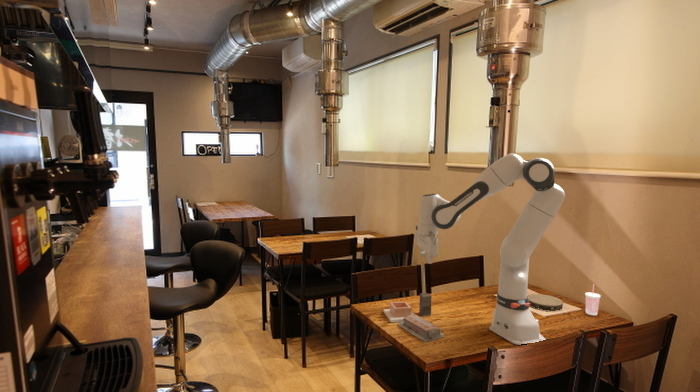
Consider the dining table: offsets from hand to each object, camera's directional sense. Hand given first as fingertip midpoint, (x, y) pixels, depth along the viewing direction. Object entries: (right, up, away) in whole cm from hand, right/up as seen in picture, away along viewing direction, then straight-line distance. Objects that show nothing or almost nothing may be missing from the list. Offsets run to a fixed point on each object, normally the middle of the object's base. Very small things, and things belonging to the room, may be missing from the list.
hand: (426, 260), depth 184 cm
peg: (0, -25, +2) cm, 25 cm away
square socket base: (-12, -25, -2) cm, 27 cm away
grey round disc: (+60, -25, +16) cm, 67 cm away
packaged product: (-5, -27, -16) cm, 32 cm away
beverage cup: (+77, -26, +6) cm, 82 cm away
